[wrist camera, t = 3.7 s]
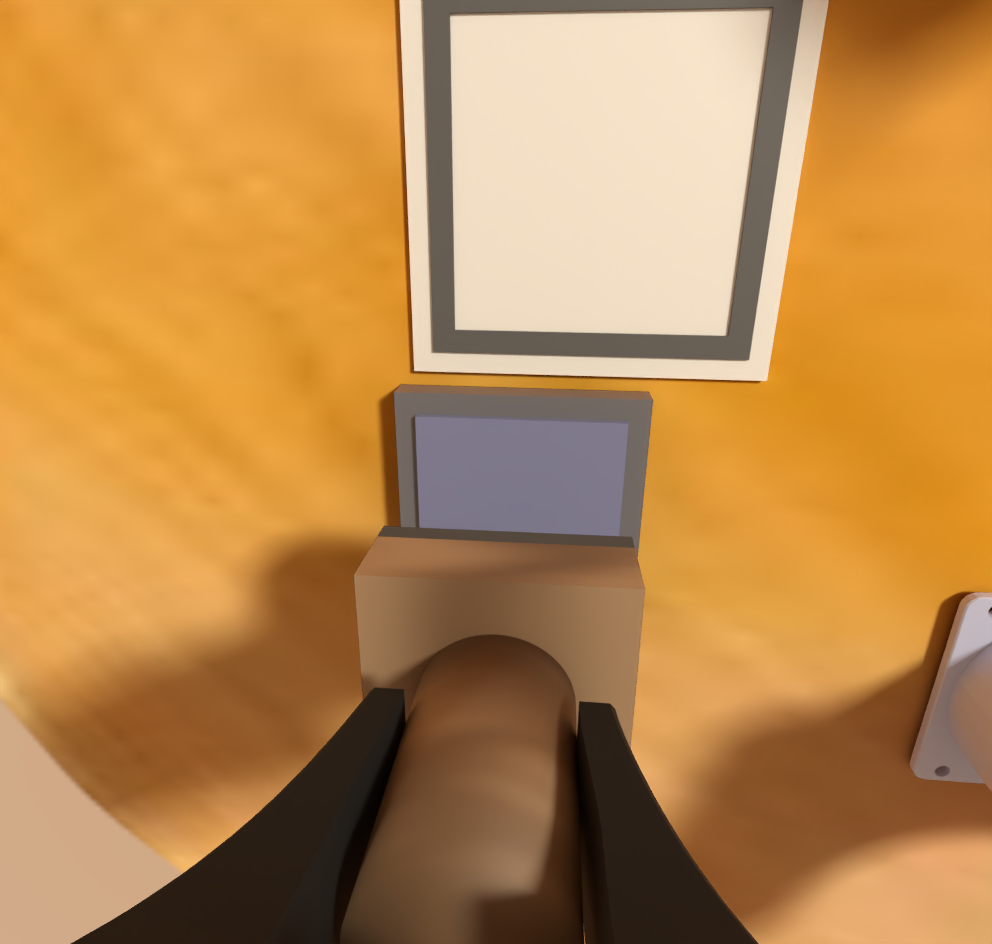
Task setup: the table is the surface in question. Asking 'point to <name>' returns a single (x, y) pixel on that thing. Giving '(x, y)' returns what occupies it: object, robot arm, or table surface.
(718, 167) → the print sheet
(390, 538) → the stamp
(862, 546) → the table surface
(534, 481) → the ink pad
